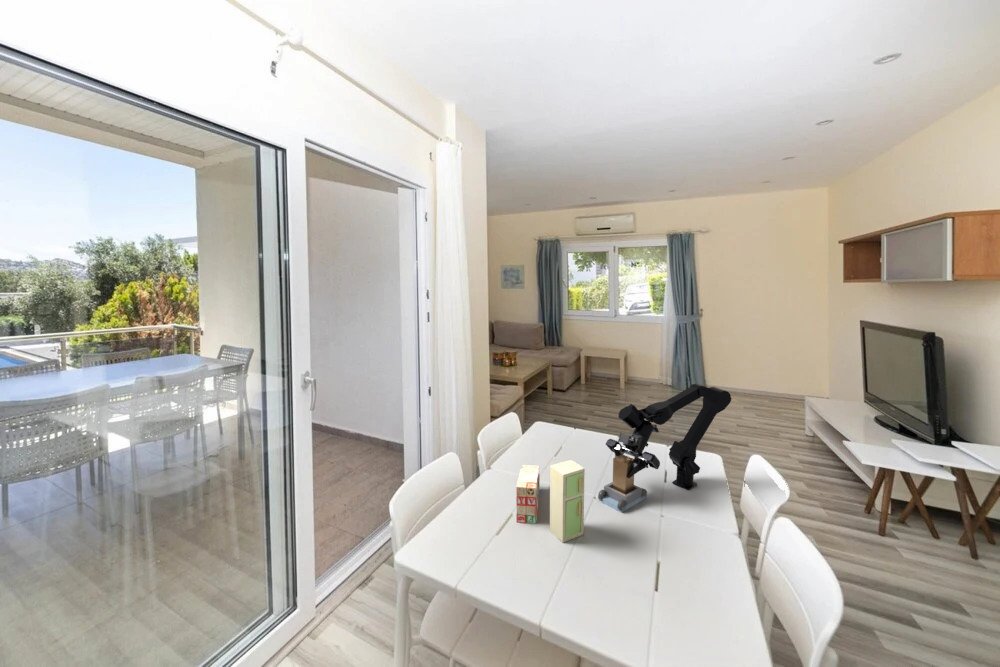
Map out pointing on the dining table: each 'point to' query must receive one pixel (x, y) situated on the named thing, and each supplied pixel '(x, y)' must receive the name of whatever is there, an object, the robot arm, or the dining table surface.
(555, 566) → the dining table surface
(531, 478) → the stack of blocks
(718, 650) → the dining table surface
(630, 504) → the chassis
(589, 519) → the dining table surface
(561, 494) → the toy refrigerator
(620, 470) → the tall tan wooden block
